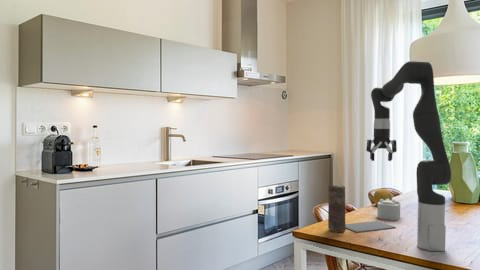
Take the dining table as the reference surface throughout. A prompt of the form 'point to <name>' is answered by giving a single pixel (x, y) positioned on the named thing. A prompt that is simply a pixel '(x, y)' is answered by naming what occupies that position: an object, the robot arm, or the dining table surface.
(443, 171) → the robot arm
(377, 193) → the potato
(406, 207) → the dining table surface
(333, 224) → the dark brown tall block
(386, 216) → the lumpy-topped squat cylinder
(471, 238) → the dining table surface
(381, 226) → the mat
